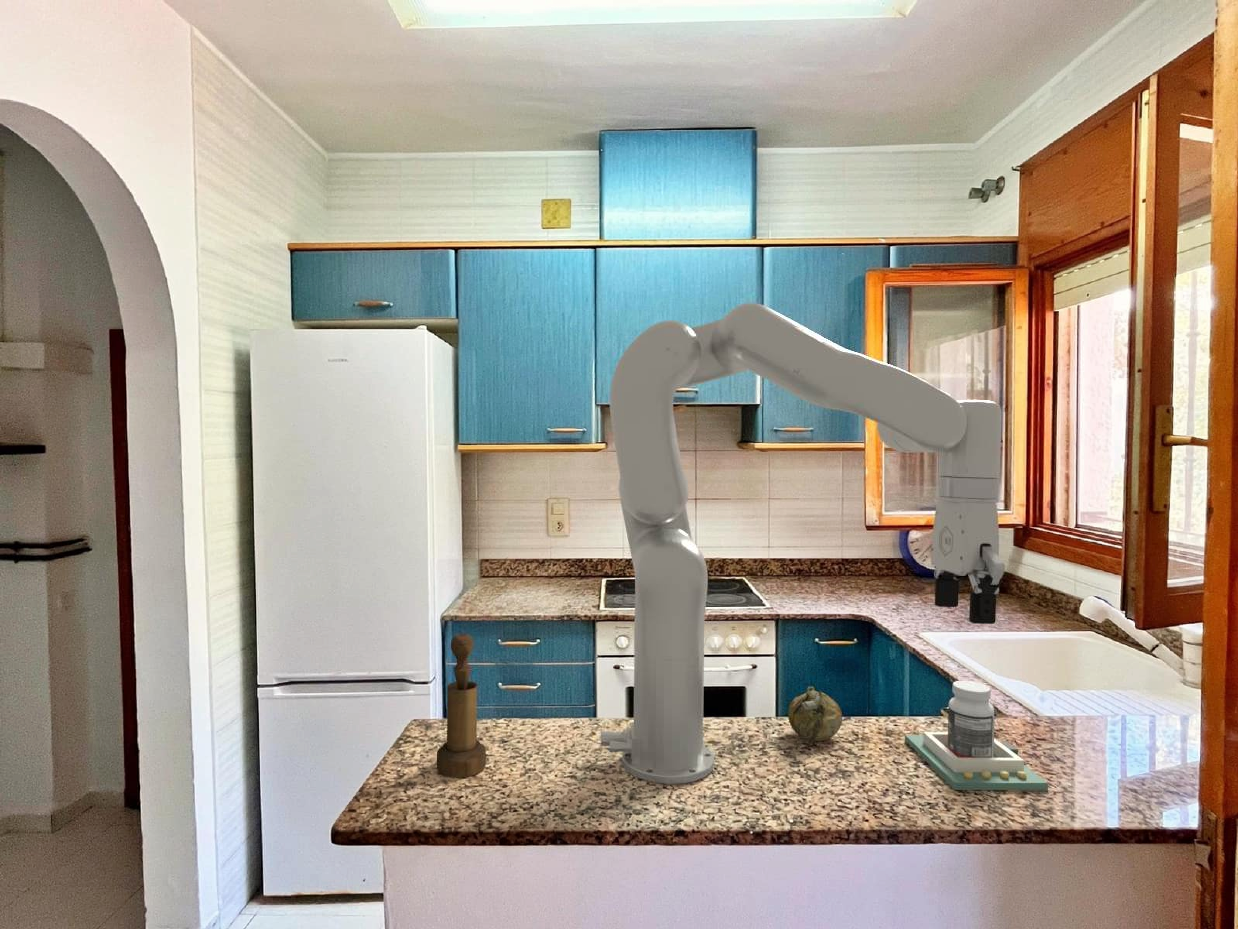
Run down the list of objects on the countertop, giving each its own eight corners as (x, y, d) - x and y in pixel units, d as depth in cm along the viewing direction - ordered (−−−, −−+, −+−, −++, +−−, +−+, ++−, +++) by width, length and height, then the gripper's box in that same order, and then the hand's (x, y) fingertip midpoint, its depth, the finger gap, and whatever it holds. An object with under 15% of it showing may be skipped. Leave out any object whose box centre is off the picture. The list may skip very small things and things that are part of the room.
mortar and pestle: (496, 766, 95) (496, 634, 94) (455, 783, 90) (456, 644, 90) (466, 752, 99) (467, 625, 99) (426, 767, 94) (427, 634, 94)
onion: (852, 746, 102) (853, 692, 102) (801, 750, 101) (802, 695, 101) (827, 726, 110) (828, 675, 110) (779, 729, 108) (780, 678, 108)
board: (955, 790, 89) (955, 770, 89) (904, 741, 104) (905, 724, 104) (1048, 790, 89) (1048, 770, 89) (984, 741, 104) (985, 724, 104)
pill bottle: (953, 745, 101) (955, 676, 101) (997, 756, 97) (999, 685, 97) (942, 758, 96) (944, 686, 96) (988, 770, 93) (989, 696, 93)
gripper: (913, 486, 105) (909, 600, 105) (973, 493, 88) (968, 630, 88) (963, 488, 105) (959, 601, 105) (1032, 495, 88) (1027, 631, 88)
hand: (963, 614), depth 97 cm, fingers open, 9 cm apart
